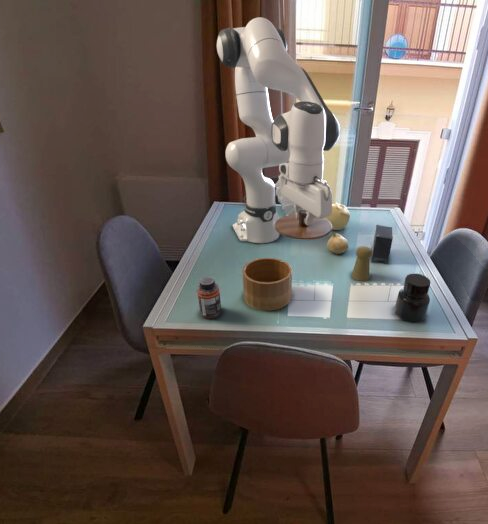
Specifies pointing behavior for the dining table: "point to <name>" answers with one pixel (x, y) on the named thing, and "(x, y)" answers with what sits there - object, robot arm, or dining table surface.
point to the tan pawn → (362, 264)
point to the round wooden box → (267, 283)
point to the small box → (382, 244)
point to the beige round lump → (338, 216)
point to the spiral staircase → (284, 201)
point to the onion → (337, 244)
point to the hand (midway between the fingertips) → (303, 221)
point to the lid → (302, 227)
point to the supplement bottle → (209, 298)
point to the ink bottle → (413, 298)
